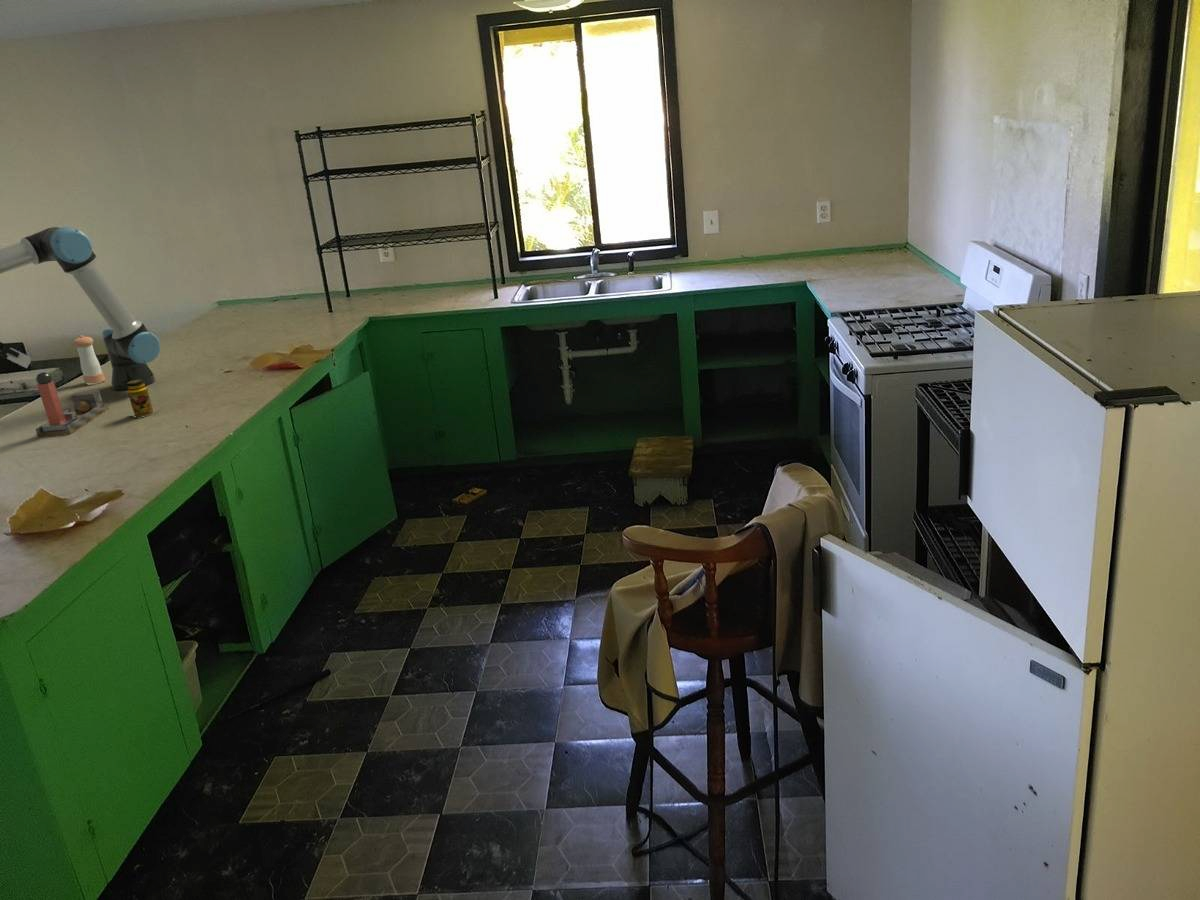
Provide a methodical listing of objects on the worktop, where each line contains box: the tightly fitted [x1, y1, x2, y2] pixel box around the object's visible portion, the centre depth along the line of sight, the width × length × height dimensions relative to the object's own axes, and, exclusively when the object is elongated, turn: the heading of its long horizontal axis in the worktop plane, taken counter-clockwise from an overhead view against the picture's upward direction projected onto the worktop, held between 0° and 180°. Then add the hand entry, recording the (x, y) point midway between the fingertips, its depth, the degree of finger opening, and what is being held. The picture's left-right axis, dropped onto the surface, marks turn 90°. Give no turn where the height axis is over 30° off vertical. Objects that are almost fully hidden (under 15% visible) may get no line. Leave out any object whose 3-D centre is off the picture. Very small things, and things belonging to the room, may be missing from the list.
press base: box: [35, 389, 110, 438], centre depth 319 cm, size 26×11×7 cm, turn 0°
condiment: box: [127, 379, 160, 417], centre depth 321 cm, size 7×8×12 cm
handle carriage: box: [35, 372, 77, 432], centre depth 310 cm, size 9×8×19 cm
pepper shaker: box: [72, 334, 106, 384], centre depth 367 cm, size 7×7×19 cm
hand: (29, 363), depth 311 cm, fingers open, 13 cm apart
